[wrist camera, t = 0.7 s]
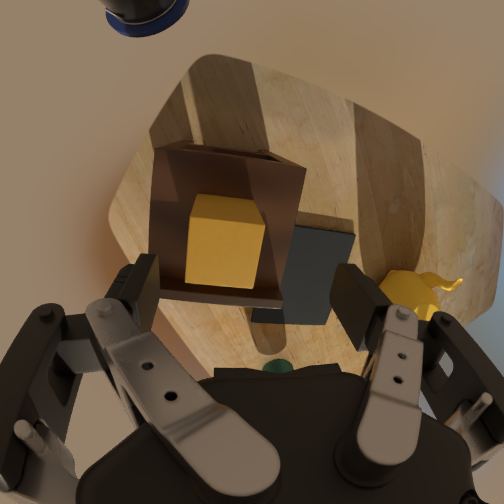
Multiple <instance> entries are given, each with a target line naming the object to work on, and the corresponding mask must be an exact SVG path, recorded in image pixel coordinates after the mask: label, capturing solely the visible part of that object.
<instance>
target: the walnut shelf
mask: <svg viewBox="0 0 504 504" xmlns="http://www.w3.org/2000/svg"><path fill="white" fill-rule="evenodd" d="M306 170H307V169H306V168H304V167H302V166H300V165H298V164H296V163H294V162H291V161H289V160H287V159H285V158H283V157H281V156H278V155H276V154H274V153H272V152H269V151H263V150H259V152H258V153H256V152H250V151H243V150H236V149H229V148H222V147H214V146H205V145H196V144H194V141H187V140H182V141H178V142H175V143H171V144H168V145H165V146H161V147H158V148H155V154H154V163H153V174H152V186H151V200H150V218H149V248H148V254H157V255H158V258H159V277H160V298H162V299H171V300H180V301H189V302H199V303H209V304H220V305H231V306H244V307H258V308H273V309H281V308H282V305H283V301H284V299H283V297H282V294H281V291H280V289H279V288H280V284H281V280H282V276H283V272H284V268H285V264H286V259H287V255H288V251H289V247H290V242H291V238H292V234H293V229H294V225H295V221H296V216H297V212H298V207H299V203H300V198H301V194H302V189H303V184H304V179H305V175H306ZM197 194H207V195H215V196H224V197H232V198H240V199H248V200H254V202H255V204H256V206H257V209H258V211H259V213H260V215H261V217H262V219H263V221H264V223H265V230H264V235H263V240H262V245H261V251H260V256H259V261H258V266H257V271H256V277H255V282H254V287H253V289H249V288H237V287H226V286H215V285H205V284H195V283H186V282H185V270H186V256H187V243H188V231H189V220H190V215H191V211H192V208H193V205H194V202H195V199H196V196H197Z"/></svg>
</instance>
